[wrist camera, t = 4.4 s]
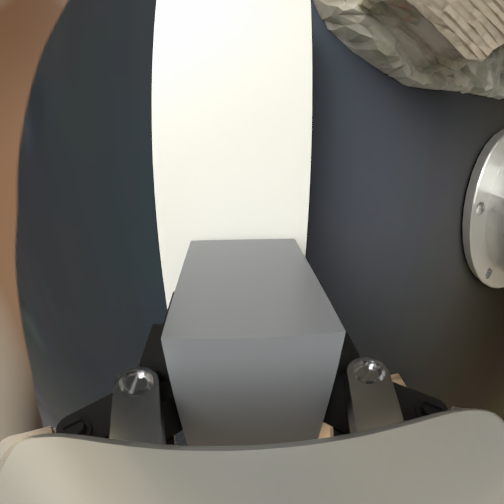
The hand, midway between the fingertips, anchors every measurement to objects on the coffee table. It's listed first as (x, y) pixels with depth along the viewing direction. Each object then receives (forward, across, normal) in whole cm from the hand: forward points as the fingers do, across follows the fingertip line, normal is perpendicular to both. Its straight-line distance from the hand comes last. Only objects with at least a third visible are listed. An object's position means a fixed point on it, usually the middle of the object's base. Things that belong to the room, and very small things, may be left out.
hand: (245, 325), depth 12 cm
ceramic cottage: (+6, -13, -17) cm, 22 cm away
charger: (+4, 0, 0) cm, 4 cm away
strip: (+5, 0, -3) cm, 6 cm away
